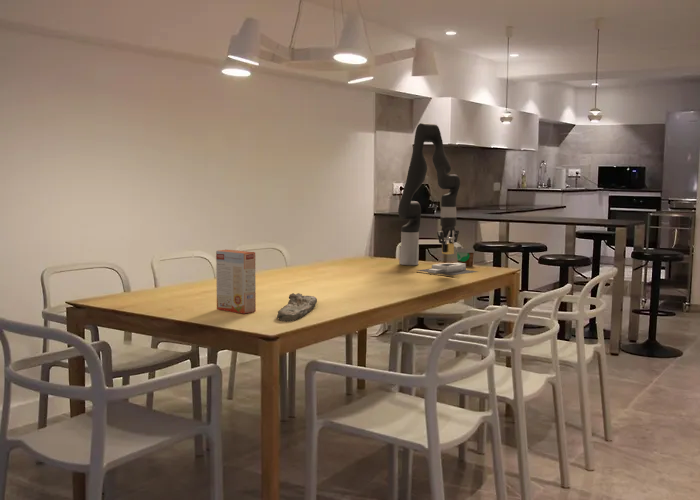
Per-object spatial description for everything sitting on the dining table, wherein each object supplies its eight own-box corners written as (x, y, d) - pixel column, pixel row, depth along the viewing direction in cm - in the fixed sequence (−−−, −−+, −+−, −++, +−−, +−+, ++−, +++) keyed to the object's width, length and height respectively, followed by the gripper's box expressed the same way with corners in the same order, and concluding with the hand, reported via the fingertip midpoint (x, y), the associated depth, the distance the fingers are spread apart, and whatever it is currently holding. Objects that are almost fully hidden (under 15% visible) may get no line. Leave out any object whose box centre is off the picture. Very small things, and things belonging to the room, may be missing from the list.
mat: (416, 272, 351) (416, 270, 351) (443, 268, 365) (443, 267, 365) (451, 277, 335) (451, 275, 335) (478, 273, 349) (478, 271, 349)
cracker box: (256, 312, 249) (256, 251, 247) (243, 314, 244) (243, 253, 242) (229, 307, 258) (228, 248, 255) (216, 309, 253) (215, 250, 251)
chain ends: (424, 271, 346) (424, 265, 346) (454, 268, 361) (454, 262, 360) (439, 274, 339) (439, 267, 339) (469, 270, 354) (469, 263, 354)
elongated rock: (269, 325, 235) (299, 328, 233) (270, 309, 234) (300, 312, 232) (295, 301, 269) (321, 303, 267) (296, 287, 268) (322, 289, 266)
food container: (450, 265, 378) (451, 246, 377) (460, 265, 380) (461, 246, 379) (463, 268, 367) (464, 249, 366) (474, 268, 369) (474, 248, 368)
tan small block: (441, 253, 349) (442, 243, 349) (447, 253, 352) (447, 243, 351) (448, 254, 346) (448, 244, 346) (453, 253, 349) (453, 243, 348)
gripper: (451, 215, 355) (451, 250, 356) (432, 216, 345) (432, 252, 347) (464, 216, 349) (463, 251, 351) (444, 217, 340) (444, 253, 341)
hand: (447, 251), depth 349 cm, fingers closed on tan small block, 4 cm apart
